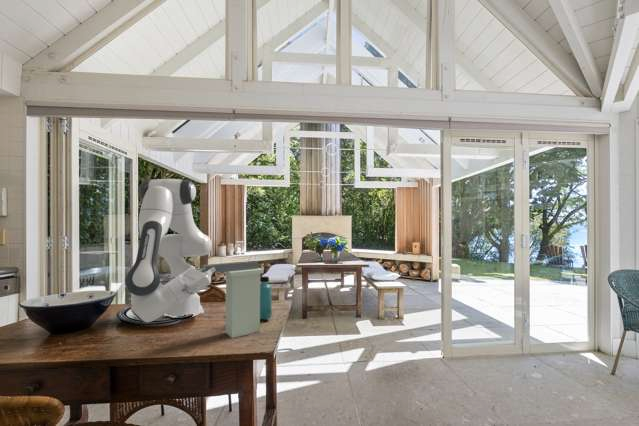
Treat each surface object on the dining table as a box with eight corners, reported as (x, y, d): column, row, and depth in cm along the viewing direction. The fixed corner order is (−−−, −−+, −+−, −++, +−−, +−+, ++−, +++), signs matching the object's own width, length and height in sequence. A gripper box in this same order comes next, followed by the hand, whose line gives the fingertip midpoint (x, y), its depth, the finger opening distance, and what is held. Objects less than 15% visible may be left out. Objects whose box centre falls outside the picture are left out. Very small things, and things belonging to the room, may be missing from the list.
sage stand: (230, 339, 126) (230, 272, 127) (222, 332, 134) (223, 269, 134) (263, 331, 135) (263, 269, 135) (253, 325, 142) (254, 266, 142)
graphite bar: (205, 273, 124) (205, 265, 124) (202, 272, 126) (203, 264, 126) (258, 268, 137) (258, 261, 137) (255, 267, 139) (255, 260, 139)
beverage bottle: (268, 322, 146) (269, 278, 146) (254, 321, 147) (255, 277, 147) (273, 318, 152) (274, 275, 153) (260, 317, 154) (260, 275, 154)
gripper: (182, 287, 111) (217, 264, 118) (169, 277, 127) (201, 257, 134) (191, 301, 112) (225, 278, 119) (178, 290, 129) (208, 270, 136)
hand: (212, 267), depth 127 cm, fingers closed on graphite bar, 3 cm apart
